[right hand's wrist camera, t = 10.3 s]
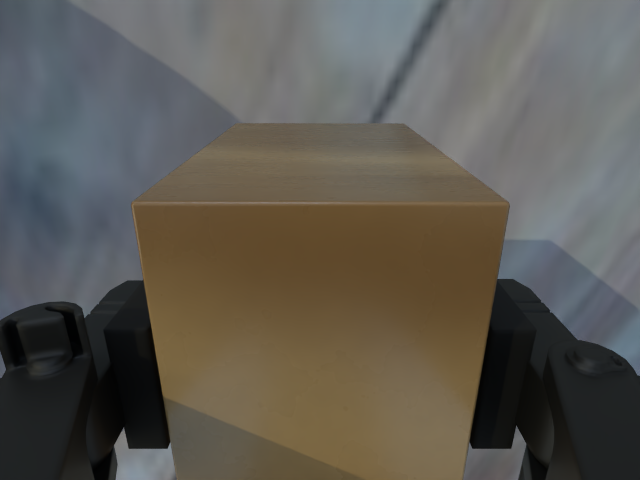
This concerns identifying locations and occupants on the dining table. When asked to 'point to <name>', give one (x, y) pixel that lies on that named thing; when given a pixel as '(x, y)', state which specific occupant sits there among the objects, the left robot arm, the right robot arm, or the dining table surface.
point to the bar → (320, 303)
